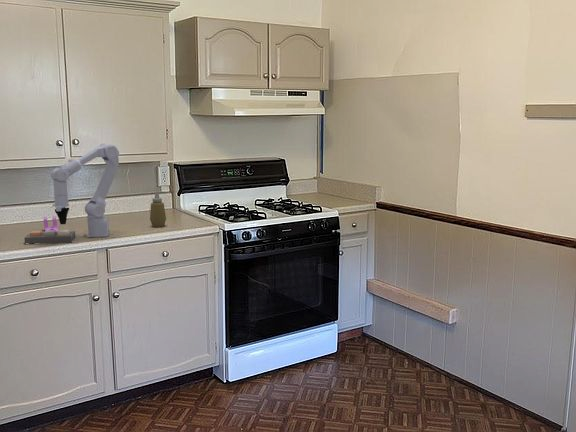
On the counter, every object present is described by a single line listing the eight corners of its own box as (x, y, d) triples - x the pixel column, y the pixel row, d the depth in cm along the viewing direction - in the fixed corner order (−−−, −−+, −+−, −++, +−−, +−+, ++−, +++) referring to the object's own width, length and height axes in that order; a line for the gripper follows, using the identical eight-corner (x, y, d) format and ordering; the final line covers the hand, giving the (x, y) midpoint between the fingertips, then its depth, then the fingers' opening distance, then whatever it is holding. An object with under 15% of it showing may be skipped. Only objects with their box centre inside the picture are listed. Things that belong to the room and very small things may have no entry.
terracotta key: (43, 236, 273) (42, 230, 273) (40, 239, 269) (40, 232, 268) (33, 237, 273) (32, 230, 272) (30, 239, 268) (29, 232, 268)
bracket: (44, 230, 295) (43, 216, 294) (56, 229, 298) (55, 215, 296) (47, 235, 284) (46, 221, 283) (59, 234, 287) (58, 220, 285)
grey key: (56, 236, 274) (56, 230, 274) (54, 238, 270) (54, 232, 269) (46, 236, 273) (46, 230, 273) (44, 238, 269) (43, 232, 269)
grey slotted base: (75, 237, 278) (75, 231, 278) (71, 242, 269) (70, 236, 268) (30, 239, 275) (30, 232, 275) (24, 244, 266) (24, 237, 265)
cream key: (70, 235, 275) (69, 229, 274) (68, 238, 271) (67, 231, 270) (60, 236, 274) (59, 229, 274) (58, 238, 270) (57, 232, 270)
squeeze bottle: (162, 228, 299) (161, 192, 295) (147, 227, 300) (145, 192, 297) (168, 224, 306) (167, 190, 303) (154, 224, 308) (152, 190, 305)
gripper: (55, 192, 275) (57, 221, 278) (47, 197, 261) (50, 227, 264) (71, 192, 276) (73, 220, 279) (64, 197, 262) (66, 227, 265)
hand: (63, 224), depth 271 cm, fingers closed
